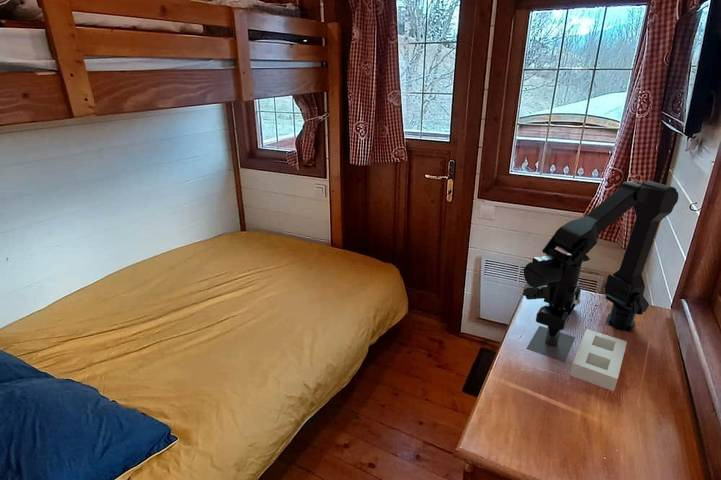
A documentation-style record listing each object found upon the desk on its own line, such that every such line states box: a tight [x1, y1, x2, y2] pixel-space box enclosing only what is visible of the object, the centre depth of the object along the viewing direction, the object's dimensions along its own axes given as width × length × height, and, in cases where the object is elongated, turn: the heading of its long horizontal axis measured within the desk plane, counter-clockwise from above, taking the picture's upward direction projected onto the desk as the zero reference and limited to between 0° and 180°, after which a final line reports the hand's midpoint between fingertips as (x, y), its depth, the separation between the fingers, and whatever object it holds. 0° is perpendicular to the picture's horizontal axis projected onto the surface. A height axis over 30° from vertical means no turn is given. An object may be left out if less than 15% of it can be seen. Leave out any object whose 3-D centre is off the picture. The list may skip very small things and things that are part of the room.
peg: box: [545, 329, 562, 347], centre depth 109 cm, size 3×3×10 cm
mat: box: [525, 325, 576, 363], centre depth 111 cm, size 12×9×1 cm
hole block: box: [569, 329, 628, 392], centre depth 103 cm, size 16×9×4 cm, turn 144°
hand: (553, 332), depth 109 cm, fingers closed on peg, 3 cm apart
